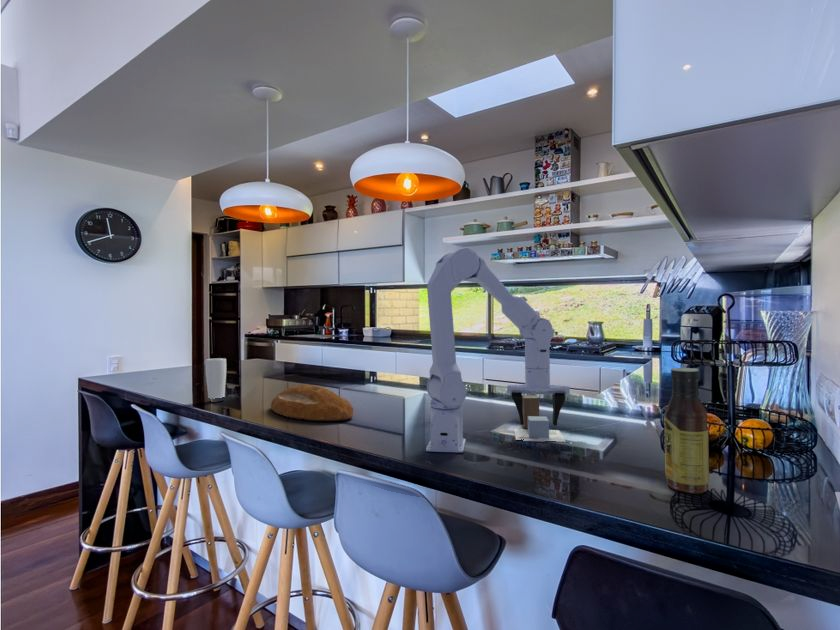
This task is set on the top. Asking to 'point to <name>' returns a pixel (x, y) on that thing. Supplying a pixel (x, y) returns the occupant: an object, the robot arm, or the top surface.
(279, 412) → the bread
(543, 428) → the slate cube
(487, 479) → the top surface
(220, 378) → the drinking glass
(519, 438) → the letter
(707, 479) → the sauce bottle
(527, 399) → the wooden block
